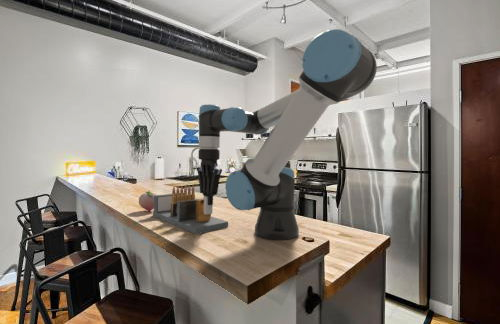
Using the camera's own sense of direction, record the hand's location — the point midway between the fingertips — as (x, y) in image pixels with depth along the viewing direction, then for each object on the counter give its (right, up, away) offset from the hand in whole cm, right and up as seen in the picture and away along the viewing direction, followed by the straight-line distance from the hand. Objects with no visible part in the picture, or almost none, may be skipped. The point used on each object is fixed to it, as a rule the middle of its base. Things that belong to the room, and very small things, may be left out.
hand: (208, 213), depth 95 cm
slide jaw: (-4, -3, +5) cm, 7 cm away
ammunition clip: (-12, -3, +13) cm, 18 cm away
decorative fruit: (-32, -5, +27) cm, 43 cm away
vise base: (-10, -5, +11) cm, 16 cm away
